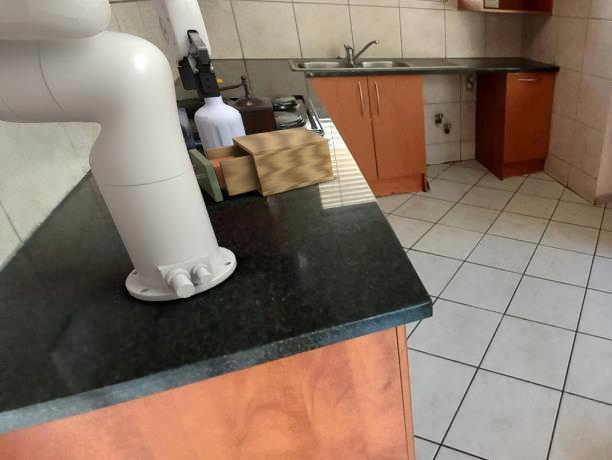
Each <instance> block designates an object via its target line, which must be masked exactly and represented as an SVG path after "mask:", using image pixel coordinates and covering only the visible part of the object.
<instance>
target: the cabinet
mask: <svg viewBox="0 0 612 460" xmlns="http://www.w3.org/2000/svg"><path fill="white" fill-rule="evenodd" d="M232 141H233V144H234V145H235V144H237V145H239V146H240V147H241V148H243V149H244V150H246V151H247V152H248V153H250V154H251V155H253V160H254V164H255V168H256V172H257V176H258V180H259V184H260V188H261V189H257V190H256V191H257V192H258V193H259V194H260V195H261V196H263V197H267V196H271V195H275V194H279V193H283V192H289V191H291V190H295V189H300V188H304V187H308V186H312V185H316V184H320V183H324V182H329V181H333V180H335V176H334V169H333V163H332V157H331V151H330V145H329V139H328V138H326V137H324V136H323V135H321V134H319V133H317V132H314V131H313V130H310V129H308V128H307V127H305V126H300V127H292V128H286V129H280V130H279V129H278V131H273V132H266V133H260V134H253V135H246V136H240V137H233V138H232Z"/></svg>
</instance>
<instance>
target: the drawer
mask: <svg viewBox="0 0 612 460" xmlns="http://www.w3.org/2000/svg"><path fill="white" fill-rule="evenodd" d="M205 152H206V155H207V158H208V159H207V158H206V155H203V154H202V153H201V152H200V151H199V150H197V149H192V150H189V152H188V154H189V157H190V160H191V163H192V167H193V170H194V173H195V176H196V179H197V182H198V185H199V186H200V187H201V188H202V189H203V190H204V191H205V192H206V193H207V194H208V195H209V196H210V197H211V198H212V199H213V200H214V201H215V202H222V201H224V198H223V197H224V196H223V194H222V191H221V190H223V191H224V192H225V194H227V195H228V196H229V197H230V196H231V197H232V196H235V195H240V194H243V193H248V192H252V191H253V192H254V191H257V189H261V188H260V184H259V180H258V176H257V172H256V168H255V164H254V160H253V155H251V154H250V153H248V152H247V151H246V150H244V149H243V148H241V147H240V146H239V145H237V144H235V145H229V146H223V147H217V148H210V149H205ZM205 152H204V153H205ZM231 156H233V157H235V158H233V159H227V160H222V161H219V164H220V167H221V171H222V174H223V178H224V181H225V185H226V188H223V189H221V188H220V187H219V184H218V180H217V177H216V174H215V170H214V167H213V164H212V163H211V162H210V161H209V160H214V159H220V158H226V157H231Z"/></svg>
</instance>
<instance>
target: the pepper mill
mask: <svg viewBox="0 0 612 460" xmlns="http://www.w3.org/2000/svg"><path fill="white" fill-rule="evenodd" d="M240 80H241V82H240V83H237V84H232V85H226V86H220V87H219V90H220V92H223V91H228V90H234V89H238V88H241V87H243V90H244V95H241V97H239V98H238V99H236V100H232V101H231V100H230V101H228V102H227V105H228V106H231V107H233V108H234V109H236V110H238V112H239V113H240V115H241V118H242V122H243V126H244V130H245V134H246V135H253V134H260V133H266V132H273V131H279V128H278V124H277V119H276V115H275V112H274V106H273V103H272V101H271V99H269V98H268V99H263V98H260V97H258V96H256V95H251V94H250V91H249V87H248V85H249V81H247V76H246V75H243V74H242V75H240Z"/></svg>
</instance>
